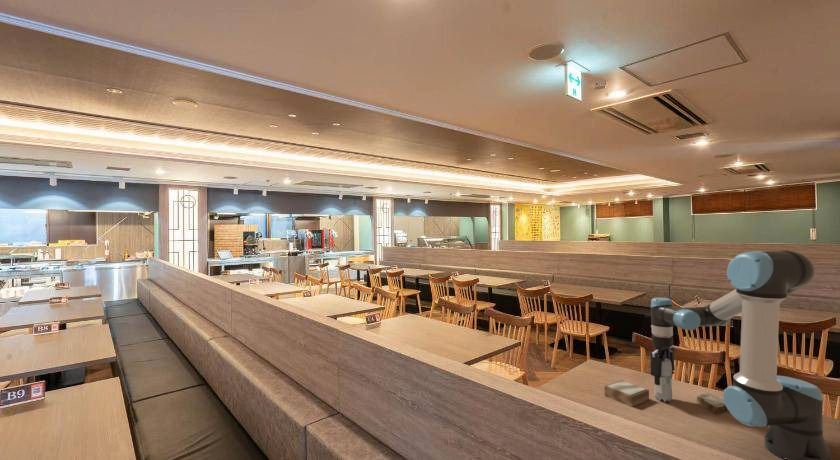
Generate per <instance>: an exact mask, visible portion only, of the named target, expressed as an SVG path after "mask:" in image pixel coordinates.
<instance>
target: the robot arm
mask: <svg viewBox="0 0 840 460" xmlns="http://www.w3.org/2000/svg"><path fill="white" fill-rule="evenodd" d="M815 270H816V269H815V266H814V264H813V262H812V261H811V260H810V258H808V256H806V255H804V254H803V253H800V252H797V251H795V250H786V249H785V250H766V251H765V250H760V251H759V250H752V251H747V252H741V253H739V254H737V255H736V256H735V257H733V258H732V259H731V260H730V261H729V263H728V265H727V269H726V276H727V279H728V281H730V284H731V285H732V287H734V288H735V289H733V290H732V291H730V292H728V293H726V294H725V295H723V296H722V297H721V296H720V298H718V299H716V300H715V301H713V302H710V303H709V304H707V305H705V306H694V307H680V306H675V305H673V301H672V299H671V298H668V297H653V298H652V299H651V301H650V316H651V318H650V319H651V323H650V324H651V325H650V328H651V343H652V344H653V346H654V351H650V355H649V356H650V375H651V376H653V377H654V378H653V379H654V388H655V391H656V392H659V393H661V394H662V393H663V391H662V377H661V372H662V370H661V369H662V361H665V355H666V354H667V359H669V360H670V361H671V365H672V373H671V375H675V367H676V365H675V347H673V346H674V337H673V335H674V330H673V329H674V327H673V326H675V327H678V328H679V329H682V330H687V331H695V330H696V329H697V328H699V327H701V328H702V327H719V326H725V325H727V324H729V322H730V320H731V319H732V318H734V317H735V316H739V314H741V321H740V322H741V324H740V326H741V327H740V353H739V354H740V355H739V372H737V373H734V375H733V380H732V385H728V386H727V387H726V388H725V389H724V390H723V391H722V392H723V393H722V398H723V399H722V400H724V403H725V405H726V407H727V409H728V410H727V411H729V413H730V415H732V417H733V418H734V419H736V421H738V422H739V423H741V424H742V425H744V426H747V427H760V428H763V427H764V428H765V427H768V428H767V431H766V432H765V434H764V437H763V438H764V439H763V442H764V443H763V444H764V447H765V448H766V449H767V451H769V452H770V451H771V454H773V453H774V455H775V454H776V455H775V456H777V455H778V456H777V457H779V456H780V457H779V458H781V457H783V458H787V459H789V460H832V459H833V457H832V454H831V452H830V449H829V447H828V445H827V442H826V440H825V437H824V430H823V427H824V426H823V424H824V423H823V422H824V421H823V419H824V418H823V402H824V399H823V394H822V390H821V389H820V388H819V386H817V385H815V384H812V383H810V382H808V381H805V380H802V379H798V378H794V377H791V376H786V375H778V373H777V372H778V371H777V370H778V353H779V330H780V329H779V328H780V326H779V325H780V308H781V307H780V305H781V303H782V302H783V301H785V300H787V299H788V294H791V293H793V292H796V291H798V290H800V289H801V288H803V287H806V285H809V284H810V283H811V282H812V281H813V279H814V277H815V273H816V271H815ZM661 358H662V359H661ZM671 387H673V386H672V381H671ZM783 458H782V459H783Z"/></svg>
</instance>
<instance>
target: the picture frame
mask: <svg viewBox="0 0 840 460" xmlns="http://www.w3.org/2000/svg"><path fill="white" fill-rule="evenodd" d="M604 396H605V397H607V398H609V399H613V400H615V401H617V402H619V403H622V404H624V405H627V406H629V407H631V408H632V407H635V406H637V405H641V403H644V402H648V401H649V400H650V390H649V389H646V388H644V387H641V386H639V385H636V384H634V383H630V382H628V381H624V380H621V379H620V380H619V381H616V382H613V383H610V384H608V385H605V386H604Z"/></svg>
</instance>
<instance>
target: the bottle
mask: <svg viewBox="0 0 840 460" xmlns="http://www.w3.org/2000/svg"><path fill="white" fill-rule="evenodd" d="M661 359H662V358H661ZM661 370H662V372H661V377H662V391H663V393H662V394H661V393H659V392H656V391H655V387H654V389H653V390H654V397H655V399H657V400H658V401H660V402H661V401H662V400H663V403H665V402H668V403H669V402H671V401H672V399H673V389H672V387H673V386H672V387H671V382H672V365H671V361H670V360H669V359H667V354H666V355H665V361H662V369H661Z"/></svg>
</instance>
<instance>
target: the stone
mask: <svg viewBox="0 0 840 460" xmlns="http://www.w3.org/2000/svg"><path fill="white" fill-rule="evenodd" d="M696 402H697V403H699V404H701V406H703V407H705V408H706V409H707V410H709V411H710V412H711V413H714V414H716V415H720V414H722V413H725V412H727V411H729V410H728V409H727V407H726V405H725V403H724V399H722V398H720V397H717V396H715V395H714V394H711V393H709V392H704V393H701V394H697V395H696Z"/></svg>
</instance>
